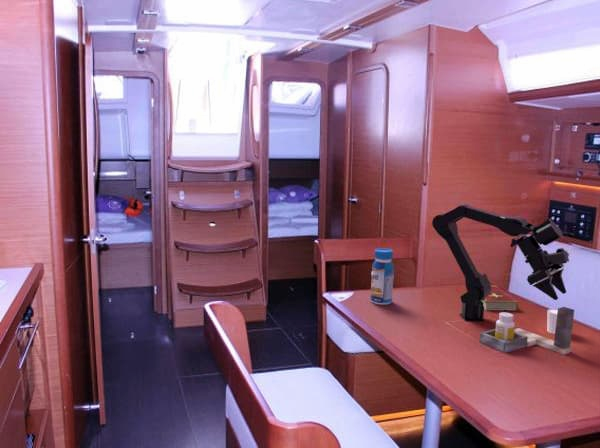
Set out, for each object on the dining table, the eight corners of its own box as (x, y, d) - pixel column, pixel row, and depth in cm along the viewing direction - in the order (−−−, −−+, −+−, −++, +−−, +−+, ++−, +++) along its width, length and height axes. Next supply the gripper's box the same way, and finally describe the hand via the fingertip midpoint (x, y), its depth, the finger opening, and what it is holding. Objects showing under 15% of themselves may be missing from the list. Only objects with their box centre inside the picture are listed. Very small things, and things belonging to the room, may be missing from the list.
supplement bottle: (512, 343, 168) (515, 312, 167) (513, 349, 163) (516, 318, 161) (494, 340, 170) (497, 310, 168) (494, 347, 165) (497, 316, 163)
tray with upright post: (479, 342, 168) (483, 301, 166) (515, 331, 178) (519, 293, 175) (535, 364, 152) (540, 320, 150) (571, 351, 162) (576, 310, 160)
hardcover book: (496, 295, 220) (497, 285, 219) (517, 312, 199) (518, 301, 199) (466, 294, 220) (467, 284, 219) (485, 311, 199) (486, 300, 198)
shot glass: (570, 337, 175) (573, 316, 173) (547, 335, 176) (550, 314, 175) (564, 329, 181) (567, 309, 180) (542, 327, 183) (545, 307, 181)
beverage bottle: (394, 305, 201) (397, 252, 198) (371, 305, 201) (373, 252, 198) (390, 298, 210) (393, 247, 206) (368, 298, 210) (371, 247, 206)
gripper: (547, 244, 162) (577, 291, 158) (564, 236, 176) (592, 279, 172) (514, 261, 169) (543, 307, 165) (533, 252, 183) (560, 294, 179)
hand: (560, 296), depth 170 cm, fingers open, 9 cm apart
